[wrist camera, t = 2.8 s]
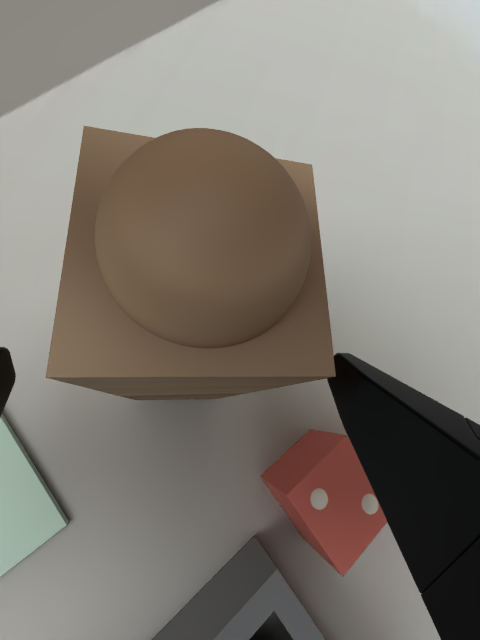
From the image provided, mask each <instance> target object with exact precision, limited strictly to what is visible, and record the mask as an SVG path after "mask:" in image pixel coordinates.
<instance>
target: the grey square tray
mask: <svg viewBox="0 0 480 640" xmlns="http://www.w3.org/2000/svg"><path fill="white" fill-rule="evenodd" d="M273 611H275V613H276V614H277V616H278V617H279V619H280V620H281V622H282V623H283V625H284V626H285V628H286V629H287V631H288V632H289V634H290V635H291V637H292V638H293V640H325V638H324V637H323V635H322V634H321V632H320V631H319V630H318V628H317V627H316V625H315V624H314V622H313V621H312V619H311V618H310V616H309V615H308V613H307V612H306V610H305V609H304V607H303V606H302V604H301V603H300V601H299V600H298V598H297V597H296V596H295V594H294V593H293V591H292V590H291V588H290V587H289V585H288V584H287V582H286V581H285V579H284V578H283V576H282V575H281V573H280V572H279V570H278V569H277V567H276V566H275V565H274V563H273V562H272V560H271V559H270V557H269V556H268V554H267V553H266V551H265V550H264V549H263V547H262V546H261V544H260V543H259V541H258V540H257V538H256V537H255V536H254V537H253V538H252V539H251V540H250V541H249V542H248V543H247V544H246V545H245V546H244V547H243V548H242V549H241V550H240V551H239V552H238V553H237V554H236V555H235V556H234V557H233V558H232V559H231V560H230V561H229V562H228V563H227V564H226V565H225V566H224V567H223V568H222V569H221V570H220V571H219V572H218V573H217V574H216V575H215V576H214V577H213V578H212V579H211V580H210V581H209V582H208V583H207V584H206V585H205V586H204V587H203V588H202V590H201V591H200V592H199V593H198V594H197V595H196V596H195V597H194V598H193V599H192V600H191V601H190V602H189V603H188V604H187V605H186V606H185V607H184V608H183V609H182V610H181V611H180V612H179V613H178V614H177V615H176V616H175V617H174V618H173V619H172V620H171V621H170V622H169V623H168V624H167V625H166V626H165V627H164V628H163V629H162V630H161V631H160V632H159V633H158V634H157V635H156V636H155V637H154V638H153V639H152V640H249V639H250V638H251V637H252V636H253V635H254V633H255V632H256V631H257V630H258V629H259V628H260V626H261V625H262V624H263V623H264V622H265V621H266V619H267V618H268V617H269V616H270V615H271V614H272V612H273Z"/></svg>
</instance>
